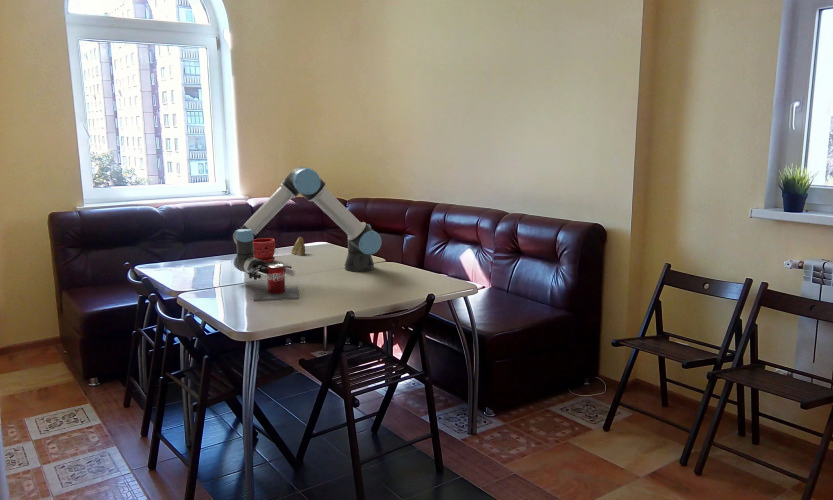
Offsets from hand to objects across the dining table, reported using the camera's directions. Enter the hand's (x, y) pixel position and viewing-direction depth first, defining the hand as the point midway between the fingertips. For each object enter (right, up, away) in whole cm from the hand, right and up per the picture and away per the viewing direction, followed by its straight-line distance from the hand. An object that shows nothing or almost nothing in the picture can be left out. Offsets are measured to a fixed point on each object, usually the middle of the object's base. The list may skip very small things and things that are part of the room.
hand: (280, 275), depth 258 cm
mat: (-2, -8, +4) cm, 10 cm away
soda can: (-2, -8, +4) cm, 9 cm away
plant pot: (-25, +4, +73) cm, 77 cm away
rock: (-11, +8, +95) cm, 96 cm away
